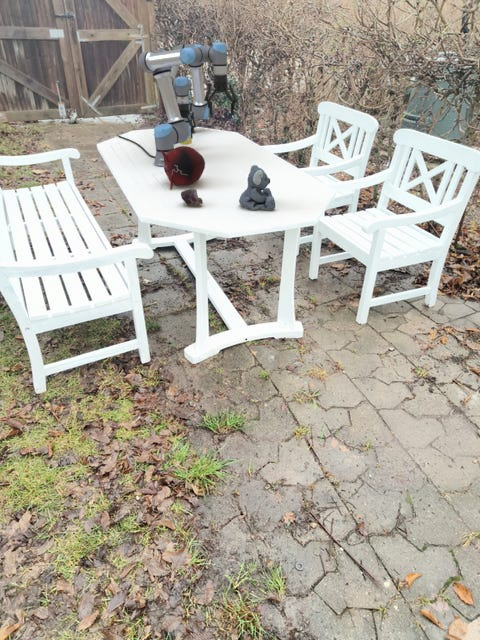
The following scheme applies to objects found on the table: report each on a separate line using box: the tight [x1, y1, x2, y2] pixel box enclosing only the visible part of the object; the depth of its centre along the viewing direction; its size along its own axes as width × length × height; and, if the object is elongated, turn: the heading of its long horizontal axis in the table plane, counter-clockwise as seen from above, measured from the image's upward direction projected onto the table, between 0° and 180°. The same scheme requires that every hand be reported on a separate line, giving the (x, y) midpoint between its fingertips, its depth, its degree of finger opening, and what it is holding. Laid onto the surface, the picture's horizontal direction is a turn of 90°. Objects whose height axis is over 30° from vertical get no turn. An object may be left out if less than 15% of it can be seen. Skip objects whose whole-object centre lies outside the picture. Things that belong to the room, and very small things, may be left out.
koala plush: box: [238, 164, 276, 211], centre depth 224 cm, size 17×18×20 cm
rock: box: [180, 188, 204, 207], centre depth 229 cm, size 12×9×10 cm
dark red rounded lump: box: [161, 145, 206, 190], centre depth 255 cm, size 21×24×25 cm
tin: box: [179, 126, 193, 146], centre depth 315 cm, size 8×8×11 cm
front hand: (221, 114), depth 268 cm, fingers open, 13 cm apart
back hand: (185, 138), depth 317 cm, fingers closed on tin, 8 cm apart
